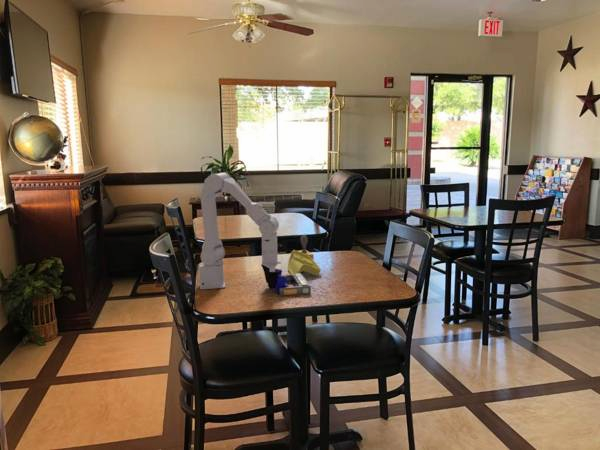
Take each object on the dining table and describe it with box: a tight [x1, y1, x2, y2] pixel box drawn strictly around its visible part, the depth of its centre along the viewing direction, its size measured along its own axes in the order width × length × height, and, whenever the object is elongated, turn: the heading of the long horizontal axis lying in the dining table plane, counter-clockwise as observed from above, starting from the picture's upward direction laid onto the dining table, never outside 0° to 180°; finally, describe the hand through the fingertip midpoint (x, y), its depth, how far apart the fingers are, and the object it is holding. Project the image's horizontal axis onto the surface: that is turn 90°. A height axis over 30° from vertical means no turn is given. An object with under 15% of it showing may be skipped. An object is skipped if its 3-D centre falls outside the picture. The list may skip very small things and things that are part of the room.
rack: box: [278, 272, 312, 297], centre depth 184 cm, size 11×17×4 cm
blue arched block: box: [273, 267, 290, 293], centre depth 183 cm, size 12×4×6 cm, turn 11°
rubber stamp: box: [298, 234, 315, 261], centre depth 225 cm, size 10×6×12 cm, turn 20°
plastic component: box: [287, 249, 322, 277], centre depth 208 cm, size 20×7×10 cm
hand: (270, 285), depth 183 cm, fingers open, 7 cm apart
